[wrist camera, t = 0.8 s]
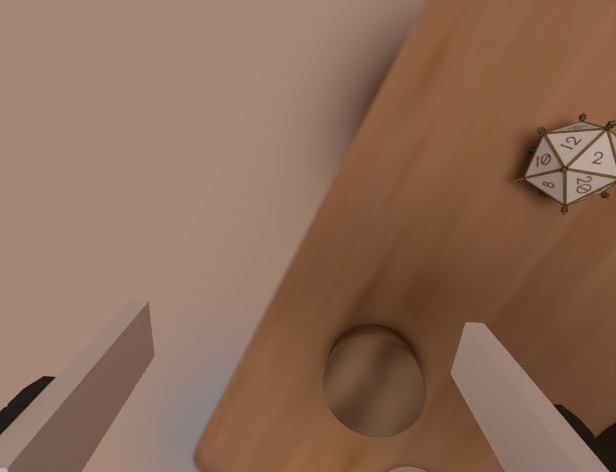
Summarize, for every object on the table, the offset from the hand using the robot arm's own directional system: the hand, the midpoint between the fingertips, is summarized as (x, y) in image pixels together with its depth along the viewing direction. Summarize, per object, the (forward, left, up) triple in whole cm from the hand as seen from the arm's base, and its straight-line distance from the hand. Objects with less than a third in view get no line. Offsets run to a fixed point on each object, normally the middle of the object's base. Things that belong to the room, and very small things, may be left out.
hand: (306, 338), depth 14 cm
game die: (-12, -20, -26) cm, 35 cm away
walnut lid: (-11, +10, -26) cm, 30 cm away
